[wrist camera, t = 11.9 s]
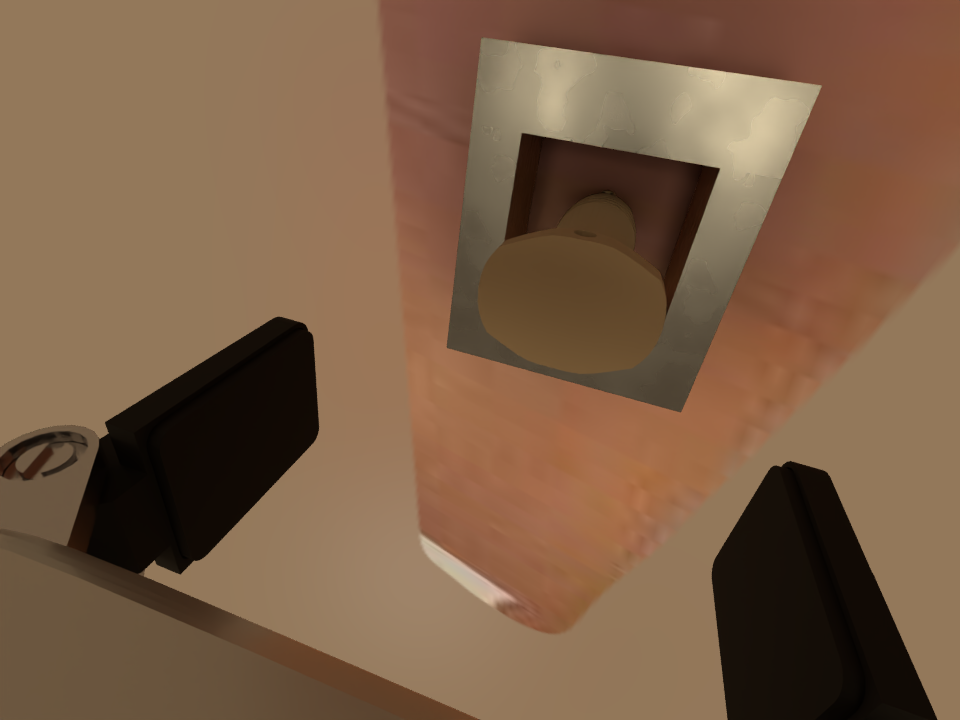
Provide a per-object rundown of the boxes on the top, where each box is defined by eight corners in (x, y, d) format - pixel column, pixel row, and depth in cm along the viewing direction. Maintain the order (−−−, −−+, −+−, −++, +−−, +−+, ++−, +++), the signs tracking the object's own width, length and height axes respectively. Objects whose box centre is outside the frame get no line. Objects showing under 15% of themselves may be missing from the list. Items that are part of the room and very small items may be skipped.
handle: (559, 166, 29) (486, 220, 16) (671, 185, 27) (686, 260, 15) (544, 245, 31) (470, 346, 19) (646, 266, 30) (641, 390, 17)
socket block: (513, 48, 27) (481, 37, 22) (786, 87, 24) (822, 85, 19) (476, 311, 35) (446, 347, 30) (676, 362, 32) (680, 412, 27)
